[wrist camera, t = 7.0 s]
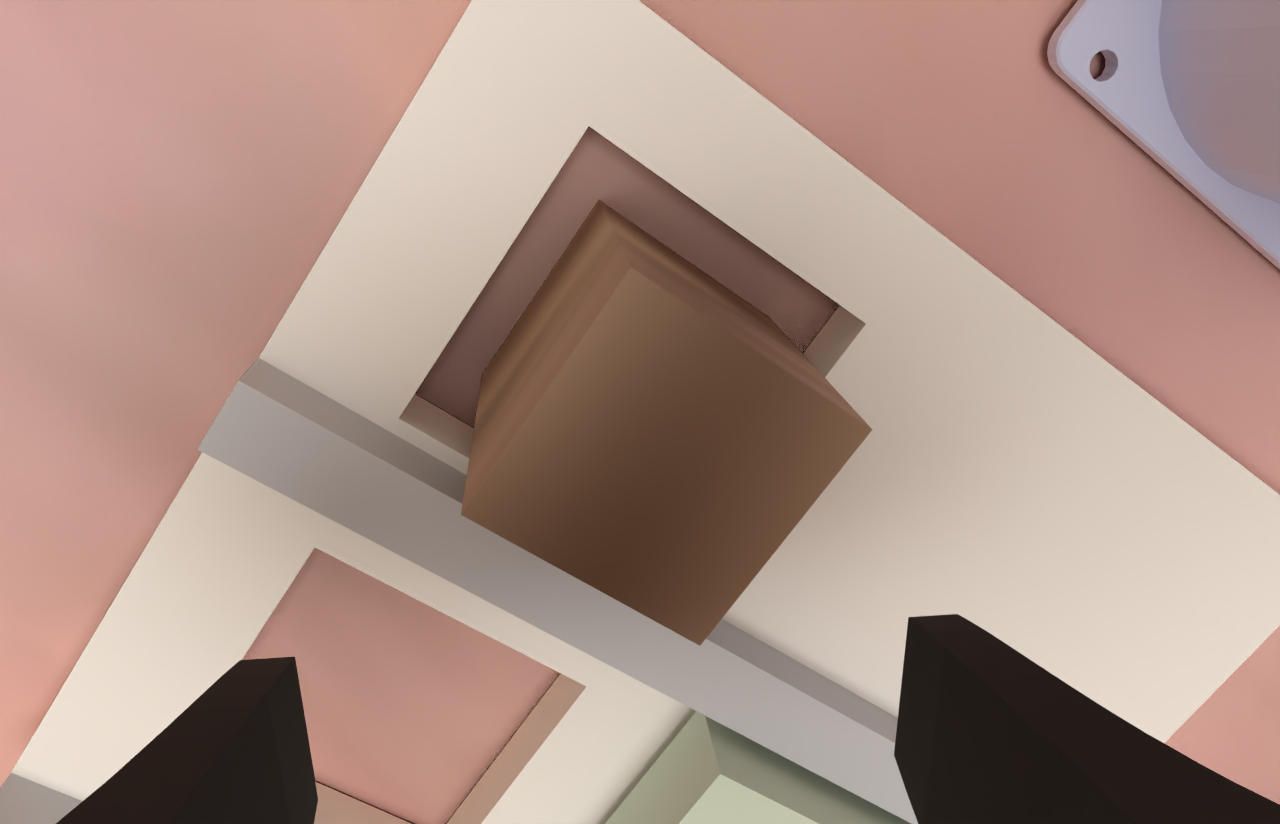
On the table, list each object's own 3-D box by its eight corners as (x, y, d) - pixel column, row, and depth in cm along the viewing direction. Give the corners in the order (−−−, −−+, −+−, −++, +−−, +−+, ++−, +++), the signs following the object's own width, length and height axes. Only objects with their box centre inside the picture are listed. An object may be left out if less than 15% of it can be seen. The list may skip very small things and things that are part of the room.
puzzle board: (1299, 518, 21) (1401, 580, 19) (791, 1050, 26) (820, 1158, 23) (524, -75, 16) (523, -101, 13) (37, 739, 20) (-34, 837, 17)
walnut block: (769, 317, 18) (872, 428, 13) (651, 476, 19) (699, 645, 14) (598, 199, 17) (631, 268, 12) (482, 375, 18) (461, 514, 13)
